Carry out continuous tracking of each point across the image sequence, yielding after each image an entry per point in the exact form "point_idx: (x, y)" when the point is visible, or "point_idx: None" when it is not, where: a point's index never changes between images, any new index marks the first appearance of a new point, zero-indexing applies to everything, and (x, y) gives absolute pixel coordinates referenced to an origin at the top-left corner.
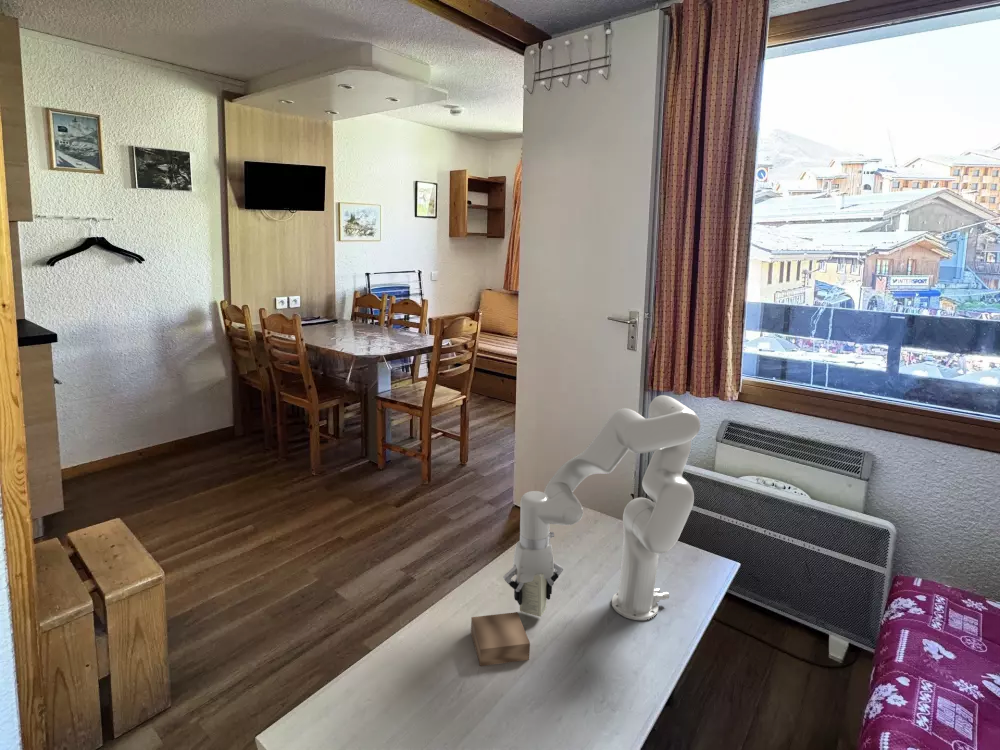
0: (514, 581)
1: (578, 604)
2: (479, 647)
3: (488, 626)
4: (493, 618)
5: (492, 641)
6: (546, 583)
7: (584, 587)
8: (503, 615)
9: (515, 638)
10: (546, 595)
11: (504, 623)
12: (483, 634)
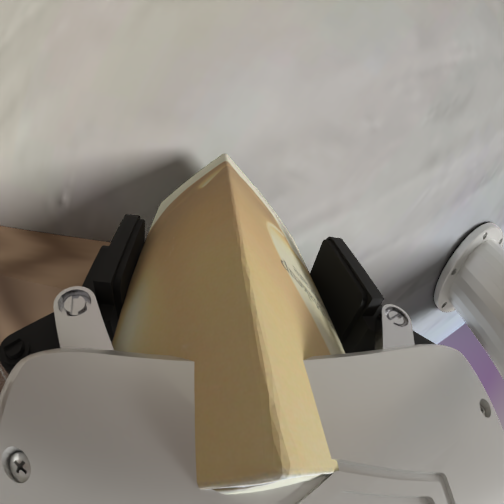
0: (59, 334)
1: (414, 210)
2: None
3: (7, 321)
4: (15, 296)
5: None
6: (352, 329)
7: (474, 150)
8: (49, 294)
9: None
10: None
11: None
12: (2, 340)
